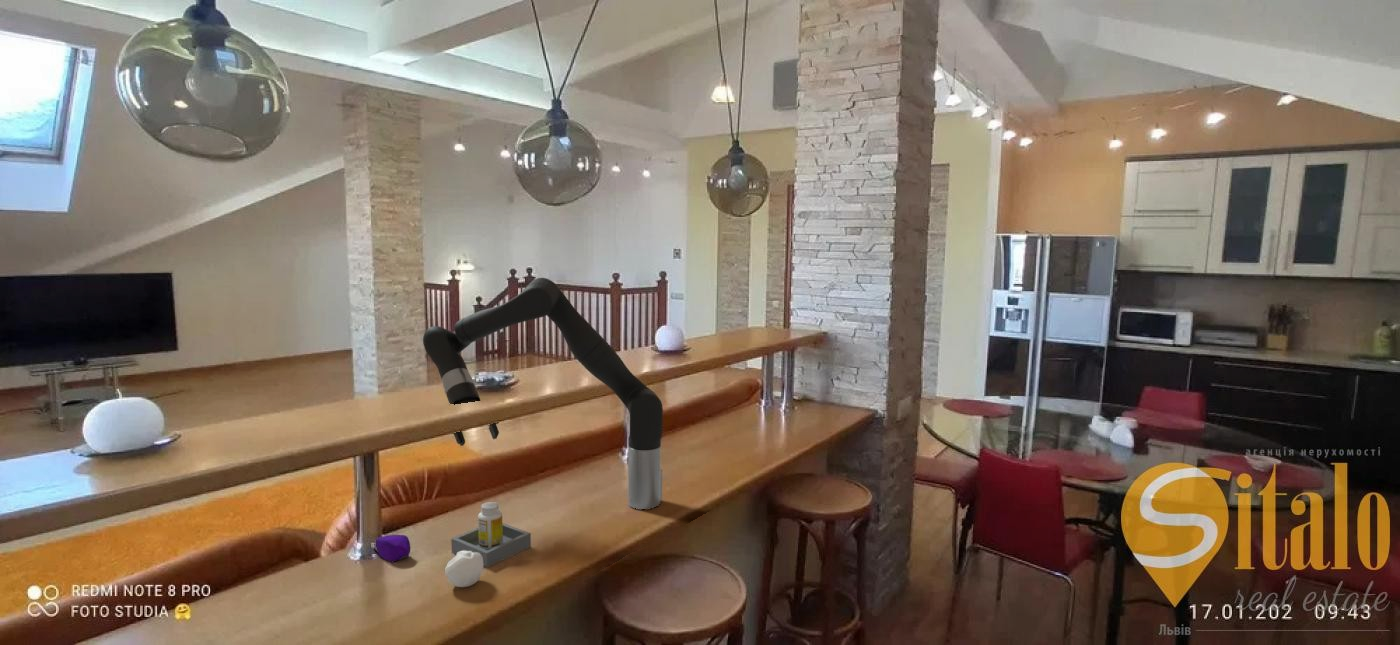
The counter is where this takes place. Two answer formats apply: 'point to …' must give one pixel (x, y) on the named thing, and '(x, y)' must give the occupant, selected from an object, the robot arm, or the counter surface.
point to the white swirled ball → (464, 568)
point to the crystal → (393, 547)
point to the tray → (511, 545)
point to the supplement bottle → (490, 526)
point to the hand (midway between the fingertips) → (479, 440)
